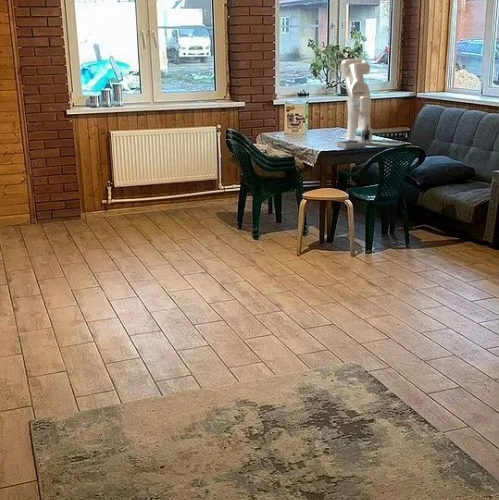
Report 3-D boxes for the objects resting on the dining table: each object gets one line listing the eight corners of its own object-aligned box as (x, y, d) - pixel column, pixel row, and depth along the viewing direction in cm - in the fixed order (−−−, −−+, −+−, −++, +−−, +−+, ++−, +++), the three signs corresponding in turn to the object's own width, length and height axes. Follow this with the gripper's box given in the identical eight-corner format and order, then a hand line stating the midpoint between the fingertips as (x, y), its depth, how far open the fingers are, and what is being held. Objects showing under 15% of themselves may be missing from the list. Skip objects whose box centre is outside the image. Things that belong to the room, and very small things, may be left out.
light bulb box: (361, 145, 503) (361, 129, 500) (354, 144, 508) (355, 128, 505) (372, 143, 509) (372, 128, 506) (365, 142, 514) (366, 127, 511)
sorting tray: (337, 146, 497) (337, 141, 496) (356, 145, 502) (357, 140, 501) (345, 149, 487) (345, 144, 486) (365, 147, 492) (365, 142, 491)
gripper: (353, 112, 509) (352, 137, 514) (366, 115, 493) (365, 141, 499) (363, 112, 512) (362, 137, 517) (376, 115, 496) (374, 140, 501)
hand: (363, 138), depth 508 cm, fingers closed on light bulb box, 7 cm apart
